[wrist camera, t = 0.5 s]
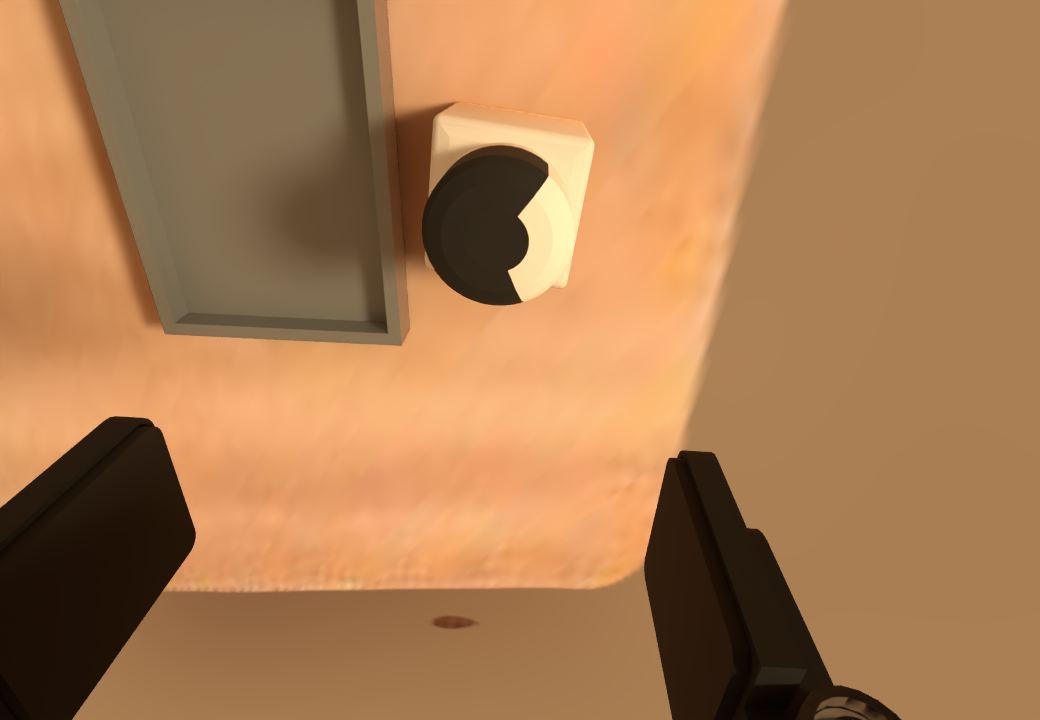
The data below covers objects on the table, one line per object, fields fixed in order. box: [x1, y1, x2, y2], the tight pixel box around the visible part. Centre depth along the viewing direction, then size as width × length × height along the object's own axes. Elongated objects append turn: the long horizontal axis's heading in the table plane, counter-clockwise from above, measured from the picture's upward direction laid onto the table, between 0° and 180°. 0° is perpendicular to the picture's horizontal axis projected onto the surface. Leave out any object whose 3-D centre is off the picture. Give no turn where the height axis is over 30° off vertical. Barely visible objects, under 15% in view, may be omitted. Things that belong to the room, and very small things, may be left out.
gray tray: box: [59, 0, 410, 346], centre depth 31 cm, size 20×15×2 cm
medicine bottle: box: [422, 101, 594, 305], centre depth 26 cm, size 7×7×12 cm
